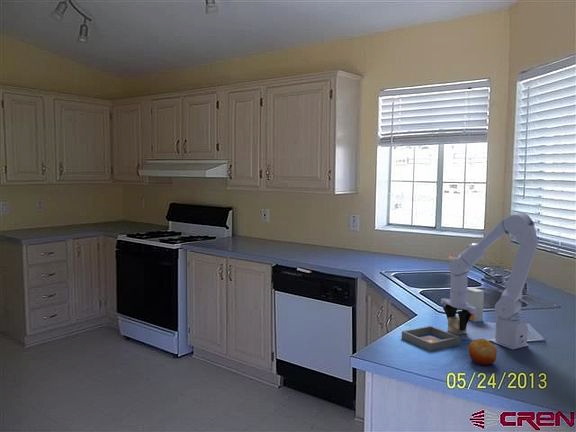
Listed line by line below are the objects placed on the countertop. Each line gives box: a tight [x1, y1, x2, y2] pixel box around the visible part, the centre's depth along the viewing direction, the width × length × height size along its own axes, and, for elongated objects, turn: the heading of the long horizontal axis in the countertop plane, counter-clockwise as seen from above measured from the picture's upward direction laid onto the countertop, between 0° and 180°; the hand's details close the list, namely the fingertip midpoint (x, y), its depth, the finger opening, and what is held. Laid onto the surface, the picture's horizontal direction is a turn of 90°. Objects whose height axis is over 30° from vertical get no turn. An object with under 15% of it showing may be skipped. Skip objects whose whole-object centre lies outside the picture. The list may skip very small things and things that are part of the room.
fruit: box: [467, 338, 498, 366], centre depth 147 cm, size 8×8×8 cm
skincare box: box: [467, 287, 485, 323], centre depth 190 cm, size 6×4×12 cm
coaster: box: [421, 336, 441, 342], centre depth 165 cm, size 7×7×1 cm
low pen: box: [401, 325, 462, 352], centre depth 165 cm, size 14×14×2 cm
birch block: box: [447, 315, 468, 336], centre depth 175 cm, size 4×4×5 cm
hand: (457, 328), depth 175 cm, fingers closed on birch block, 4 cm apart
